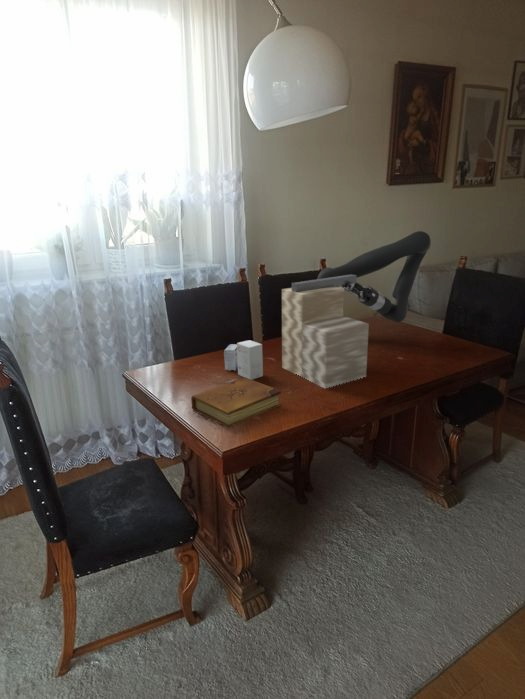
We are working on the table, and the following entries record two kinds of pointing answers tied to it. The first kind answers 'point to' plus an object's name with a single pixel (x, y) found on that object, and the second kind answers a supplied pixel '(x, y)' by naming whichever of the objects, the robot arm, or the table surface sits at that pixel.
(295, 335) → the stand
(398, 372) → the table surface
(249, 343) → the small box
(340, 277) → the bar
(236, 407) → the diary
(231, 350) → the medicine box
